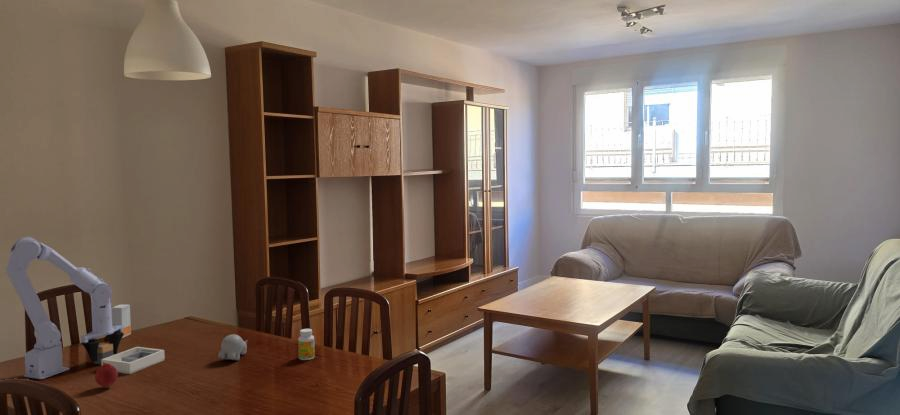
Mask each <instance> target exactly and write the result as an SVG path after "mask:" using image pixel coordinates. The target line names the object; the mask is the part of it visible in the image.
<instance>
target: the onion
mask: <svg viewBox="0 0 900 415" xmlns="http://www.w3.org/2000/svg"><path fill="white" fill-rule="evenodd" d="M118 376H119V372H117V370H116V368H115V367H114V366H112V365H110V364H108V363H107V362H103V365H101V366H100V367H99V368H98V369H97V370H96V372H95V376H94V379H95V380H94V381H95V382H96V384H97V385H99V386H100V387H102V388H104V389H108V388H110V387H111V386H112V385H114V383H116V381H117V379H118Z"/></svg>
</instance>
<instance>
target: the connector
mask: <svg viewBox="0 0 900 415" xmlns="http://www.w3.org/2000/svg"><path fill="white" fill-rule="evenodd" d="M113 355H114V354H113V344H110V343H109V342H101V343H99V345H98V350H97V361H96V362H93V363H94V364H96V365H101V366H102V364H101V359H104V358H107V357H110V356H113Z"/></svg>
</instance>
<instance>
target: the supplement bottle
mask: <svg viewBox="0 0 900 415" xmlns="http://www.w3.org/2000/svg"><path fill="white" fill-rule="evenodd" d="M297 339H298V342H297V344H298V347H297V348H298V359H299V360H300V361H310V360H313V359H314V358H315V352H316V351H315V350H316V349H315V346H316V345H315V336H314V335H313V330H312V329H311V328H303V329H300V330H299V337H298V338H297Z"/></svg>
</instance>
